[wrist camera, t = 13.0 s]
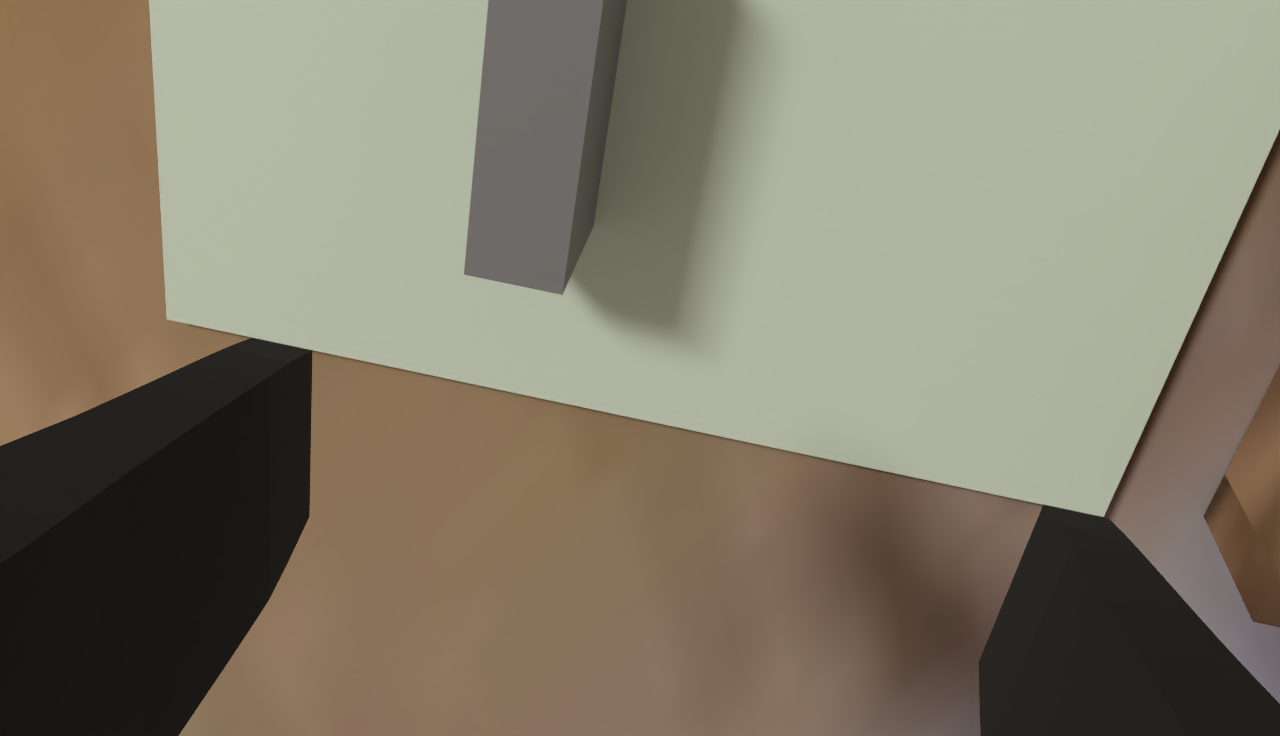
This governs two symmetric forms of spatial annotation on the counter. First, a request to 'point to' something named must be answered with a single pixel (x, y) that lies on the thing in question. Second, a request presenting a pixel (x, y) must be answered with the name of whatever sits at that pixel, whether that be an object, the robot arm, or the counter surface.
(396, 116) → the lid
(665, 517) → the counter surface
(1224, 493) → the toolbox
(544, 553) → the counter surface
